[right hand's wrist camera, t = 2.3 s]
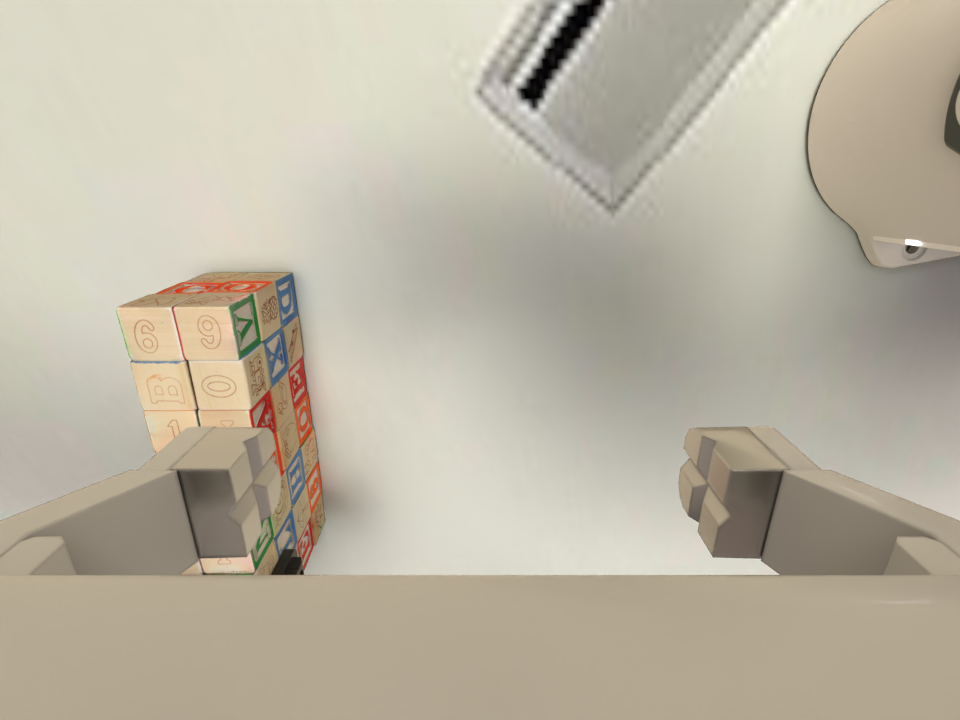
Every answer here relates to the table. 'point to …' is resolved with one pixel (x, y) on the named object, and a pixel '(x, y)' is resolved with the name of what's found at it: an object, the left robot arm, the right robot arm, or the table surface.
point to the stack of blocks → (232, 390)
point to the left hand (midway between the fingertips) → (242, 559)
